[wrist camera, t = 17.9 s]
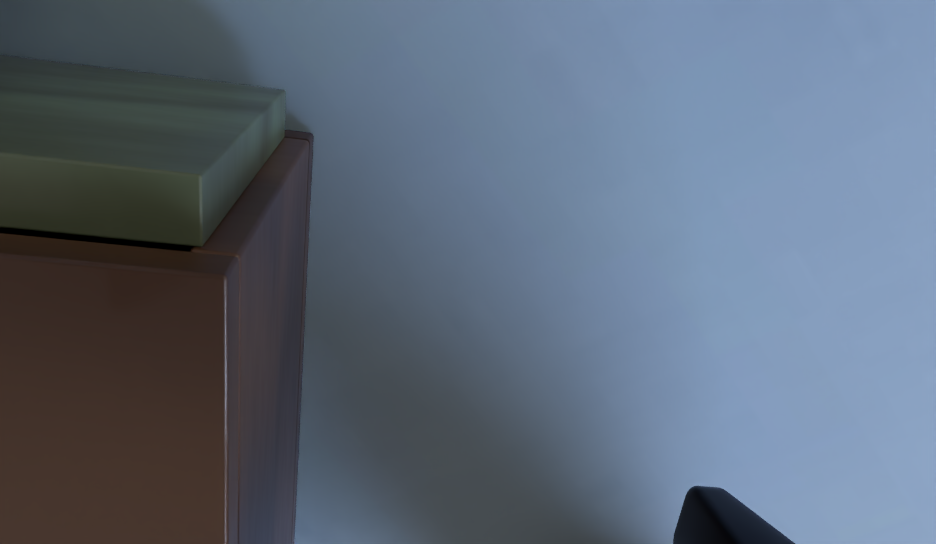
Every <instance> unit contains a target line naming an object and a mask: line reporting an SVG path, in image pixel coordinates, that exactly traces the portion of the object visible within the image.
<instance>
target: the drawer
mask: <svg viewBox="0 0 936 544" xmlns="http://www.w3.org/2000/svg"><path fill="white" fill-rule="evenodd" d="M285 107H286V91H285V90H284V89H276V88H268V87H259V86H251V85H243V84H235V83H227V82H219V81H211V80H203V79H195V78H187V77H179V76H170V75H162V74H154V73H146V72H138V71H130V70H122V69H114V68H106V67H98V66H89V65H81V64H73V63H65V62H57V61H49V60H41V59H33V58H25V57H17V56H8V55H0V233H3V234H13V235H24V236H34V237H44V238H54V239H64V240H74V241H85V242H95V243H105V244H115V245H125V246H135V247H145V248H156V249H166V250H176V251H186V252H190V251H191V249H192V247H193V246H196V247H202V246H203V245H204V244H205V242H206V241H207V240H208V238H209V237H210V236H211V234H212V233H213V232H214V230H215V229H216V228H217V226H218V225H219V224H220V222H221V221H222V220H223V218H224V217H225V216H226V214H227V213H228V212H229V210H230V209H231V208H232V206H233V205H234V204H235V202H236V201H237V200H238V198H239V197H240V196H241V194H242V193H243V192H244V190H245V189H246V188H247V186H248V185H249V184H250V182H251V181H252V180H253V178H254V177H255V176H256V174H257V173H258V172H259V170H260V169H261V168H262V166H263V165H264V164H265V162H266V161H267V160H268V158H269V157H270V156H271V154H272V153H273V152H274V150H275V149H276V148H277V146H278V145H279V143H280V142H281V141H282V139H283V138H284V136H285Z"/></svg>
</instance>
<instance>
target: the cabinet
mask: <svg viewBox="0 0 936 544" xmlns="http://www.w3.org/2000/svg"><path fill="white" fill-rule="evenodd" d="M313 138H314V136H313V134H312V133H308V132H300V131H291V130H285V136H284V138H283V139H282V141H281V142H280V143H279V145H278V146H277V148H276V149H275V150H274V152H273V153H272V154H271V156H270V157H269V158H268V160H267V161H266V162H265V164H264V165H263V166H262V168H261V169H260V170H259V172H258V173H257V174H256V176H255V177H254V178H253V180H252V181H251V182H250V184H249V185H248V186H247V188H246V189H245V190H244V192H243V193H242V194H241V196H240V197H239V198H238V200H237V201H236V202H235V204H234V205H233V206H232V208H231V209H230V210H229V212H228V213H227V214H226V216H225V217H224V218H223V220H222V221H221V222H220V224H219V225H218V226H217V228H216V229H215V230H214V232H213V233H212V234H211V236H210V237H209V238H208V240H207V241H206V242H205V244H204V245H203V246H202V247H196V246H193V247H192V249H191V251H190V252H186V251H176V250H166V249H156V248H145V247H135V246H125V245H115V244H105V243H95V242H85V241H74V240H64V239H54V238H44V237H34V236H24V235H13V234H3V233H0V544H294V538H295V517H296V496H297V475H298V454H299V433H300V412H301V391H302V370H303V349H304V327H305V306H306V285H307V264H308V243H309V222H310V201H311V180H312V159H313Z"/></svg>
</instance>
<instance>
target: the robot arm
mask: <svg viewBox="0 0 936 544" xmlns="http://www.w3.org/2000/svg"><path fill="white" fill-rule="evenodd" d="M673 544H795V543H794V542H792V541H791V540H790V539H788V538H787V537H786V536H784V535H783V534H782V533H780V532H779V531H778V530H777V529H775V528H774V527H773V526H771V525H770V524H769V523H767V522H766V521H765V520H763V519H762V518H761V517H760V516H758V515H757V514H756V513H754V512H753V511H752V510H750V509H749V508H748V507H746V506H745V505H744V504H743V503H741V502H740V501H739V500H737V499H736V498H735V497H733V496H732V495H731V494H729V493H728V492H727V491H725V490H724V489H721V488H717V487H704V486H694V487H692V488H690V489H689V491H688V492H687V494H686V497H685V500H684V503H683V507H682V510H681V513H680V516H679V520H678V523H677V526H676V529H675V533H674V539H673Z"/></svg>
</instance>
